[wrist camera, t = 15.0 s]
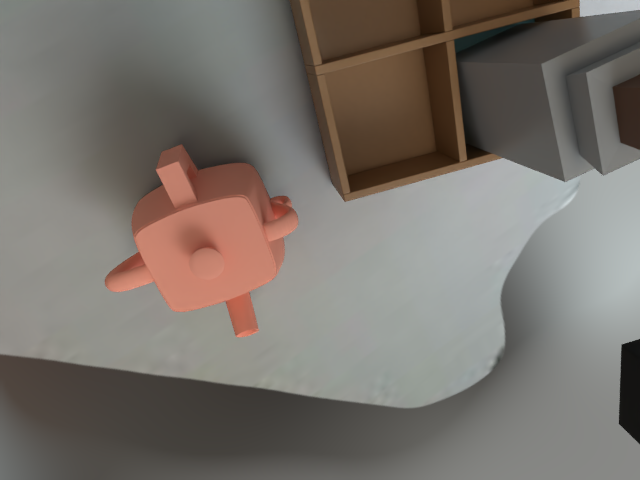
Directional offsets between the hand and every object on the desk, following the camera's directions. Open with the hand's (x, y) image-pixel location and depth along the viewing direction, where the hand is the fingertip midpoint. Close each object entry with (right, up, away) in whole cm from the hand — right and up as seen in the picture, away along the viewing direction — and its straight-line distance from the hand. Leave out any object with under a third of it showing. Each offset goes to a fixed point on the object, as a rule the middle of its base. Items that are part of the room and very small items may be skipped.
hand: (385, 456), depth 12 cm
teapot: (-11, +7, +27) cm, 30 cm away
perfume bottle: (+12, +18, +25) cm, 33 cm away
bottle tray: (+6, +21, +24) cm, 33 cm away
